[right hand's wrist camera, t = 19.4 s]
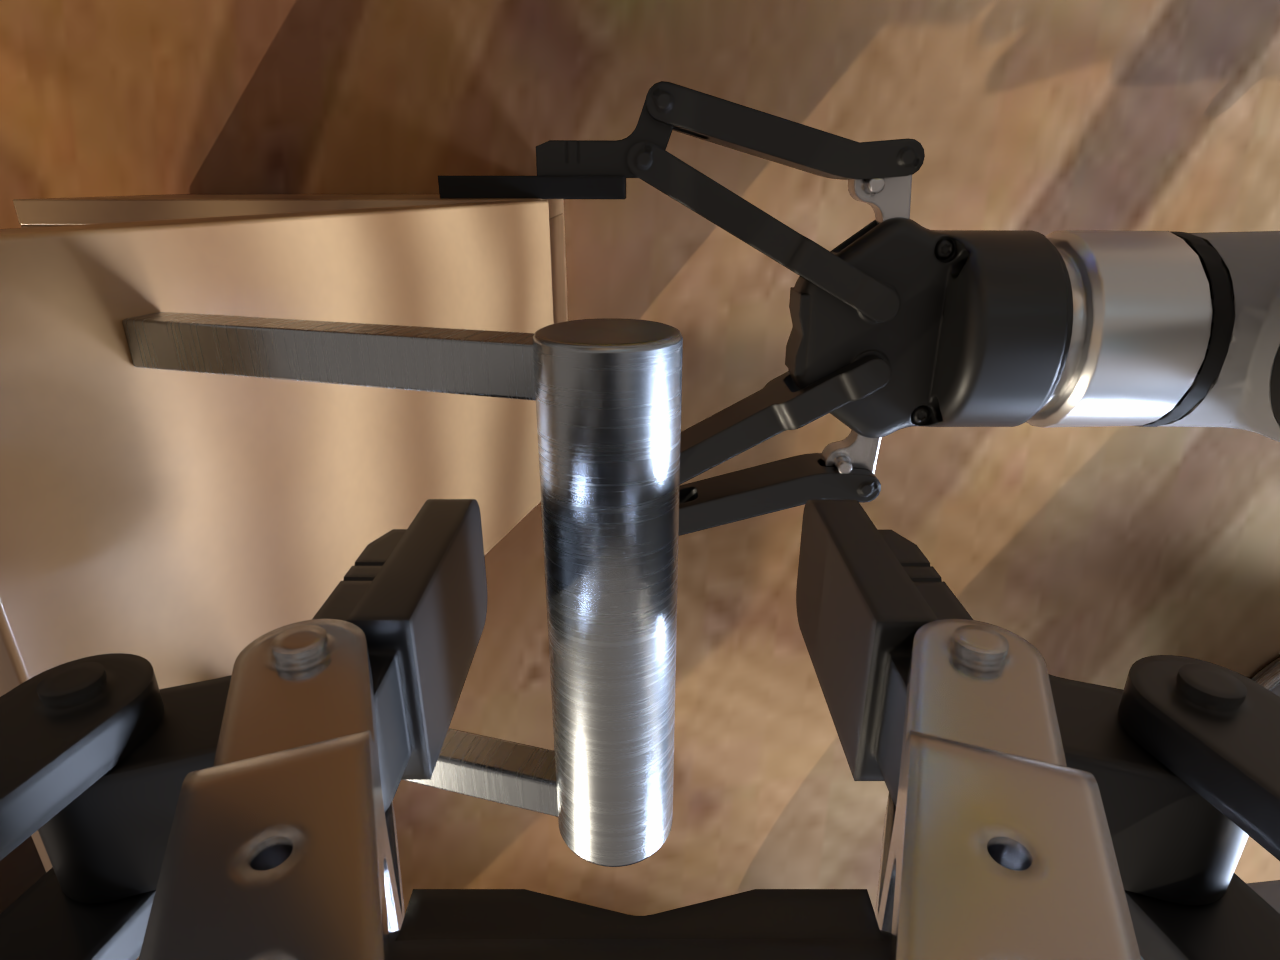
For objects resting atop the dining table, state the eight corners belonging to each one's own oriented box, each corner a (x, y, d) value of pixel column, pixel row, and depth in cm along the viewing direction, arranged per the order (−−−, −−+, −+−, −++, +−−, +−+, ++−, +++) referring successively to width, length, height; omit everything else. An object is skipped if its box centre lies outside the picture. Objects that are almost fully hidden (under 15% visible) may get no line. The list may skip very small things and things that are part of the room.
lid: (53, 900, 12) (610, 1084, 9) (-217, 241, 8) (593, 267, 6) (532, 479, 28) (778, 507, 26) (516, 199, 24) (801, 202, 22)
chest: (227, 402, 38) (92, 475, 28) (182, 194, 34) (11, 199, 25) (571, 402, 38) (548, 474, 28) (563, 194, 34) (535, 199, 25)
